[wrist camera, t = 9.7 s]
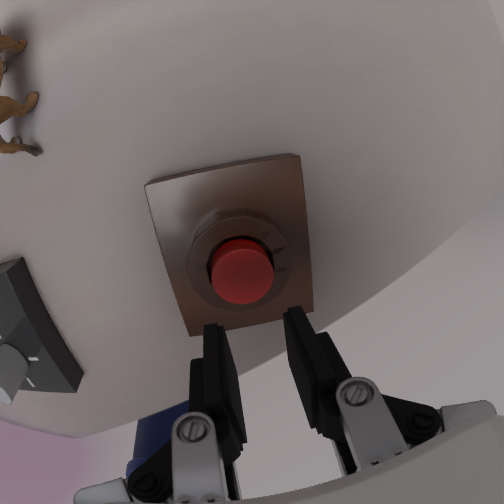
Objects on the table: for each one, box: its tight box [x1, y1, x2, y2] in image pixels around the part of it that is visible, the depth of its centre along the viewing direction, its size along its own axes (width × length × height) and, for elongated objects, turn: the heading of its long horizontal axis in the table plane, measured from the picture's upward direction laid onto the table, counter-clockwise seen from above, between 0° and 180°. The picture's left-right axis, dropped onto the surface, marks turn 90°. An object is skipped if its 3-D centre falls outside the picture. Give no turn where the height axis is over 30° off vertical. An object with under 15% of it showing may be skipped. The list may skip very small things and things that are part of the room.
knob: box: [0, 344, 29, 405], centre depth 17 cm, size 4×4×5 cm
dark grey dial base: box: [0, 257, 84, 393], centre depth 20 cm, size 14×12×3 cm
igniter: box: [144, 153, 314, 337], centre depth 19 cm, size 12×10×4 cm
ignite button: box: [211, 239, 274, 304], centre depth 17 cm, size 4×4×2 cm
